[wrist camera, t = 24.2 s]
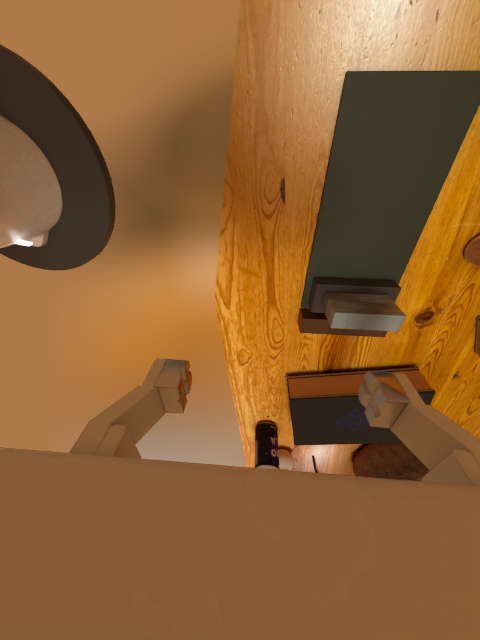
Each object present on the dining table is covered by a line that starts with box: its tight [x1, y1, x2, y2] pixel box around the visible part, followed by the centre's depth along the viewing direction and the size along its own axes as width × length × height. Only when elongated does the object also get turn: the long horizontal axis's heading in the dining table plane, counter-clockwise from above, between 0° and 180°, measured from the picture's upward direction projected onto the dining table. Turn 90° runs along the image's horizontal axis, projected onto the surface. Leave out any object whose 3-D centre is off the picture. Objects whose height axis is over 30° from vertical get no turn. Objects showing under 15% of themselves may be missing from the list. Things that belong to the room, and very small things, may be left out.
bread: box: [353, 443, 430, 481], centre depth 64 cm, size 28×27×9 cm
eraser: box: [308, 277, 406, 332], centre depth 34 cm, size 12×5×8 cm, turn 89°
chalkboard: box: [301, 71, 480, 308], centre depth 31 cm, size 14×28×1 cm, turn 179°
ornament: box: [278, 449, 294, 471], centre depth 66 cm, size 6×7×10 cm
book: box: [287, 367, 435, 445], centre depth 50 cm, size 17×25×7 cm
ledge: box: [298, 309, 387, 337], centre depth 40 cm, size 14×3×3 cm, turn 89°
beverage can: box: [255, 421, 280, 470], centre depth 58 cm, size 6×6×12 cm
